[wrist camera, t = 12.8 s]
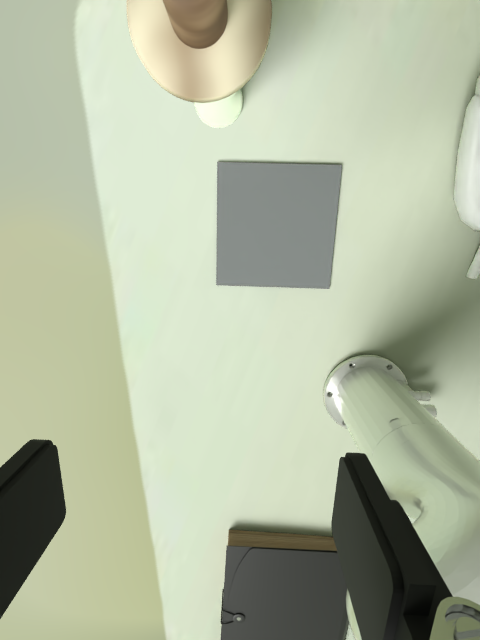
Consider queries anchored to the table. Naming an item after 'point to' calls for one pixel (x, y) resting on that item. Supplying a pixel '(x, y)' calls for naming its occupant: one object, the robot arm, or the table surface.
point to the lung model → (470, 173)
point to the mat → (276, 224)
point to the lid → (200, 44)
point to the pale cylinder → (220, 110)
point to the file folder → (283, 588)
